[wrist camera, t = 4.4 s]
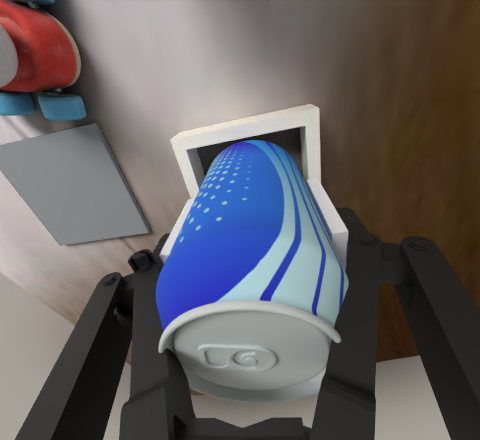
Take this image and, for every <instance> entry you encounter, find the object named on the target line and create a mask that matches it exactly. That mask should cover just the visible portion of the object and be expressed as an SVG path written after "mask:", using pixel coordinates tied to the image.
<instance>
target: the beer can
mask: <svg viewBox="0 0 480 440" xmlns="http://www.w3.org/2000/svg"><path fill="white" fill-rule="evenodd" d="M348 285H349V281H348V277H347V275H346V272H345V270H344V268H343V266H342V263H341V261H340V259H339V257H338V255H337V252H336V250H335V248H334V246H333V243H332V241H331V239H330V237H329V235H328V232H327V230H326V228H325V226H324V223H323V221H322V219H321V217H320V215H319V212H318V210H317V208H316V206H315V203H314V201H313V199H312V197H311V195H310V192H309V190H308V188H307V186H306V183H305V181H304V179H303V177H302V174H301V172H300V170H299V168H298V166H297V164H296V162H295V161H294V159H293V158H292V157H291V156H290V154H289V153H287V152H286V151H285V150H284V149H282V148H281V147H279V146H277V145H275V144H273V143H270V142H266V141H261V140H247V141H242V142H239V143H236V144H233V145H231V146H229V147H228V148H226V149H225V150H223V151H222V152H221V153H220V154H219V155H218V156H217V157H216V158H215V160H214V161H213V163H212V164H211V166H210V168H209V170H208V172H207V175H206V177H205V179H204V181H203V183H202V185H201V187H200V189H199V192H198V194H197V196H196V198H195V200H194V202H193V204H192V206H191V209H190V211H189V213H188V215H187V217H186V219H185V221H184V223H183V226H182V228H181V230H180V232H179V234H178V236H177V238H176V240H175V242H174V245H173V247H172V249H171V251H170V253H169V255H168V257H167V259H166V262H165V264H164V266H163V268H162V270H161V272H160V275H159V278H158V281H157V286H156V304H157V308H158V312H159V316H160V320H161V324H162V327H163V331H164V332H163V334H162V336H161V339H160V342H159V353H162V352H164V350H165V349H166V348H168V349H170V350H171V351H173V353H174V354H175V355H176V357H177V358H178V360H179V361H180V363H181V365H182V367H183V369H184V372H185V374H186V376H187V379H188V383H189V388H191V389H193V390H195V391H197V392H200V393H203V394H205V395H209V396H212V397H215V398H220V399H224V400H229V401H235V402H244V403H277V402H286V401H291V400H297V399H301V398H305V397H308V396H311V395H314V394H316V393H319V390H320V386H321V381H322V378H323V376H324V374H325V370H326V366H327V361H328V356H329V350H330V345H331V340H332V339H333V341H334V342H336V343H339V342H341V338H340V335H339V334H338V332H337V331H336V330H335V329H334V325H335V321H336V318H337V316H338V313H339V311H340V308H341V305H342V303H343V300H344V297H345V294H346V291H347V289H348Z"/></svg>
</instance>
